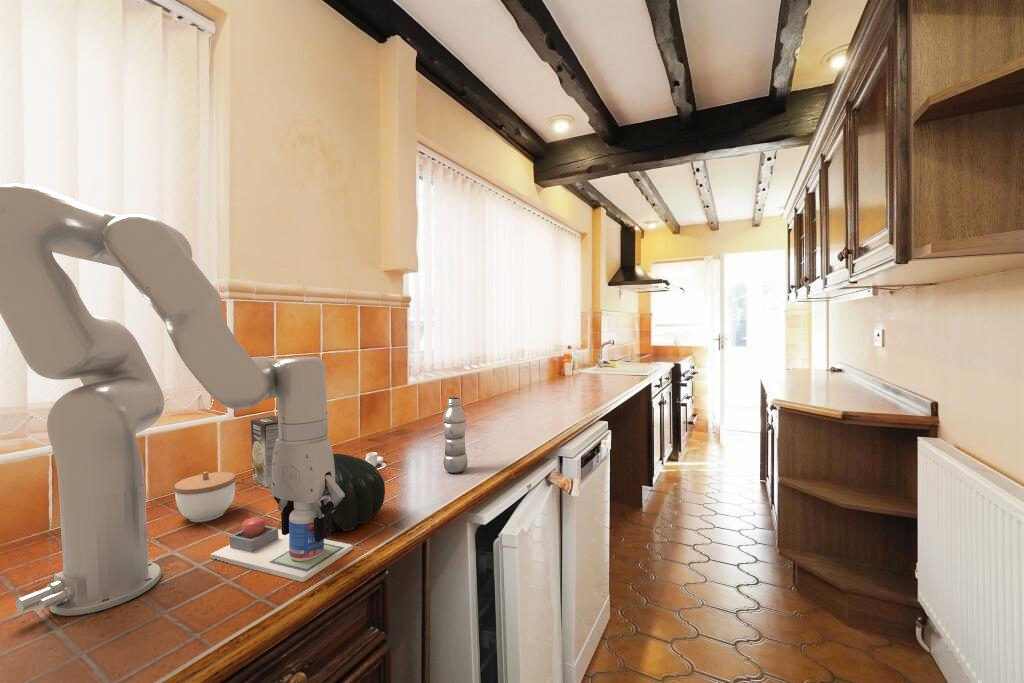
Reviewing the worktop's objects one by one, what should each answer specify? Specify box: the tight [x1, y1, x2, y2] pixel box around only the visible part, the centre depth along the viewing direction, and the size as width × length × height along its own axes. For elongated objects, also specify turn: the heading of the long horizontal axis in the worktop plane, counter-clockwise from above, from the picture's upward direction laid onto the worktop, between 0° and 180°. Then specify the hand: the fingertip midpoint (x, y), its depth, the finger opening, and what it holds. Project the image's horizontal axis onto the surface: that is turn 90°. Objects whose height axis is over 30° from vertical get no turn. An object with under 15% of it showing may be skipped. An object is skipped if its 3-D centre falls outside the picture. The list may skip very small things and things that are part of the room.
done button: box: [241, 516, 267, 537], centre depth 81 cm, size 4×4×2 cm
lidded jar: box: [173, 471, 237, 523], centre depth 96 cm, size 11×11×9 cm
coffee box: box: [250, 415, 279, 488], centre depth 117 cm, size 9×6×16 cm
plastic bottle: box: [442, 396, 469, 474], centre depth 122 cm, size 6×7×20 cm
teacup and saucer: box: [365, 451, 387, 471], centre depth 128 cm, size 9×8×4 cm
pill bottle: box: [289, 501, 324, 561], centre depth 77 cm, size 6×5×10 cm
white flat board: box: [210, 525, 354, 583], centre depth 79 cm, size 11×21×3 cm, turn 68°
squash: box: [320, 453, 386, 532], centre depth 91 cm, size 14×15×15 cm
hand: (306, 534), depth 77 cm, fingers open, 6 cm apart
